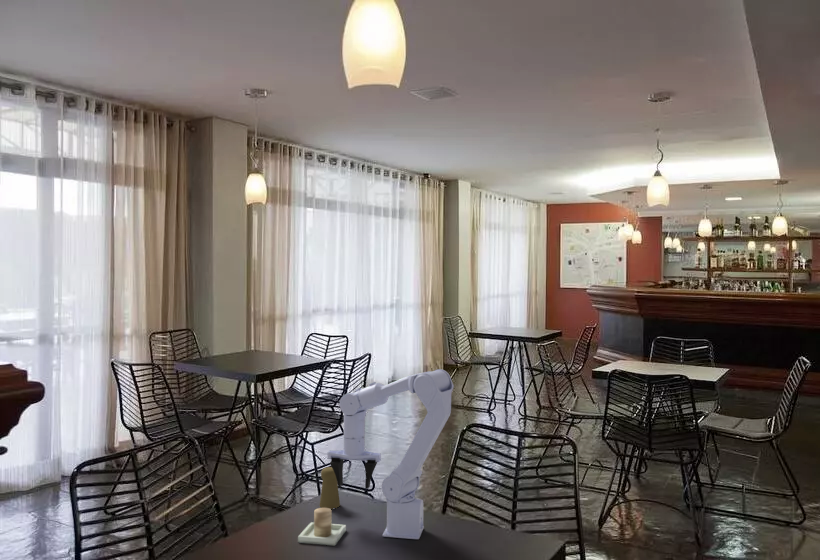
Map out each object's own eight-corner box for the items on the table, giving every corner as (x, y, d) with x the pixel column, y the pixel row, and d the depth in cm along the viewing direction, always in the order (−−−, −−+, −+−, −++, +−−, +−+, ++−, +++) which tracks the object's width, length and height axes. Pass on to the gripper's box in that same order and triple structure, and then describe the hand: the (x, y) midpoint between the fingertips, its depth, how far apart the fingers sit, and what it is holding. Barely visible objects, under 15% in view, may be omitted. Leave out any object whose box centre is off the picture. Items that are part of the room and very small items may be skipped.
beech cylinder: (333, 531, 164) (333, 508, 164) (328, 538, 159) (328, 514, 159) (317, 530, 164) (317, 507, 164) (311, 536, 160) (311, 513, 160)
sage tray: (346, 530, 165) (346, 524, 165) (335, 545, 156) (335, 539, 156) (311, 527, 167) (311, 522, 167) (297, 542, 158) (298, 536, 158)
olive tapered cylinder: (338, 509, 181) (338, 471, 181) (317, 509, 181) (317, 470, 181) (341, 502, 187) (341, 465, 187) (321, 502, 187) (321, 464, 187)
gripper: (383, 434, 175) (383, 483, 175) (333, 431, 177) (332, 480, 177) (377, 440, 168) (377, 492, 168) (325, 437, 170) (324, 488, 170)
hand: (353, 486), depth 172 cm, fingers open, 7 cm apart
